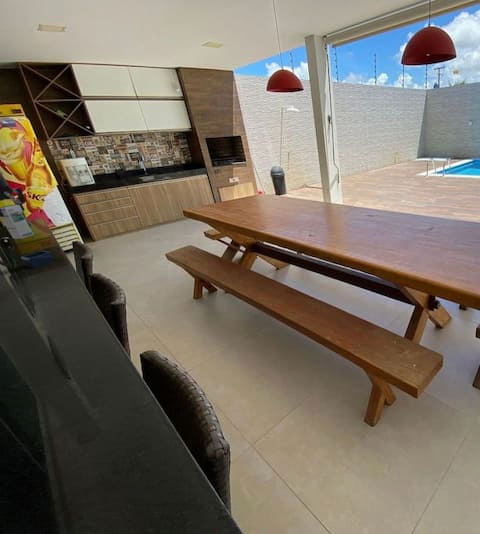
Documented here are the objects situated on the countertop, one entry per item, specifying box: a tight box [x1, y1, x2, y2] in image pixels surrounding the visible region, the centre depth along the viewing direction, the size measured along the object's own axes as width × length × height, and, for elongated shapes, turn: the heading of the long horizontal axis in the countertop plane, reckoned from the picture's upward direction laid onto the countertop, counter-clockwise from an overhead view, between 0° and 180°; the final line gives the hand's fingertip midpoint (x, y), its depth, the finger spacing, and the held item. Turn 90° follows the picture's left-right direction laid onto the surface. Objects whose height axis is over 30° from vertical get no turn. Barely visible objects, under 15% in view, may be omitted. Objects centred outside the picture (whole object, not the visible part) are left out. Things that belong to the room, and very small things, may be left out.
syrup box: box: [0, 204, 36, 240], centre depth 140 cm, size 6×6×14 cm
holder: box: [20, 250, 55, 269], centre depth 148 cm, size 8×8×5 cm
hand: (11, 214), depth 138 cm, fingers closed on syrup box, 6 cm apart
